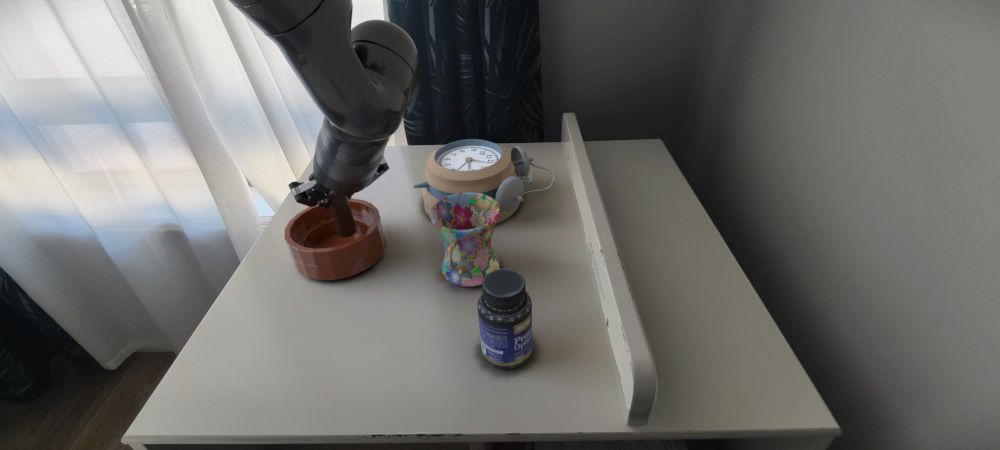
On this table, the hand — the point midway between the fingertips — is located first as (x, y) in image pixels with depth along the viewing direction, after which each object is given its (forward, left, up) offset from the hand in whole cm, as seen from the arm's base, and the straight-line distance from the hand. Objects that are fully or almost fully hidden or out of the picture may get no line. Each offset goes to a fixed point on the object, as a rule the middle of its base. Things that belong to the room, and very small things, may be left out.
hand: (333, 198), depth 73 cm
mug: (+10, -20, -8) cm, 24 cm away
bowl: (-2, -3, -8) cm, 9 cm away
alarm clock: (+24, -6, -8) cm, 26 cm away
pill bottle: (+6, -34, -9) cm, 35 cm away
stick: (0, -2, -5) cm, 6 cm away
